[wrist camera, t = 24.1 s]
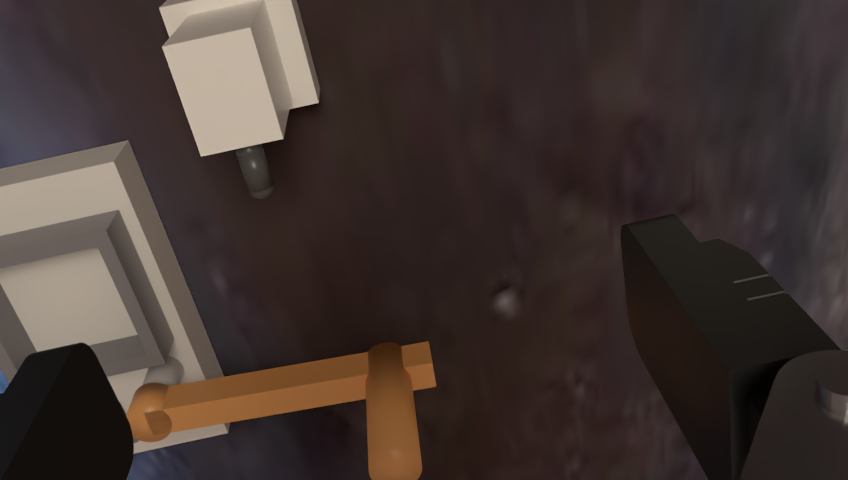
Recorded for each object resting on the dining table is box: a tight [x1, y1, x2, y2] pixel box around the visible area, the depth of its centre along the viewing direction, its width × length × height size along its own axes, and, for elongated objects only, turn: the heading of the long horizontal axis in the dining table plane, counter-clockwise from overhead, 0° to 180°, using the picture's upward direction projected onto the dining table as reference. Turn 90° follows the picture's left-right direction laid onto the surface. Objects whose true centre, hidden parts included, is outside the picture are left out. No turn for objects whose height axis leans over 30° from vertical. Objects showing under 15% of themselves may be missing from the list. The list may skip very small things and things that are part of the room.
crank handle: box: [126, 341, 436, 480], centre depth 32 cm, size 14×2×7 cm, turn 98°
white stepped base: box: [0, 141, 230, 453], centre depth 36 cm, size 15×8×4 cm, turn 11°
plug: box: [159, 0, 320, 200], centre depth 31 cm, size 7×5×7 cm
